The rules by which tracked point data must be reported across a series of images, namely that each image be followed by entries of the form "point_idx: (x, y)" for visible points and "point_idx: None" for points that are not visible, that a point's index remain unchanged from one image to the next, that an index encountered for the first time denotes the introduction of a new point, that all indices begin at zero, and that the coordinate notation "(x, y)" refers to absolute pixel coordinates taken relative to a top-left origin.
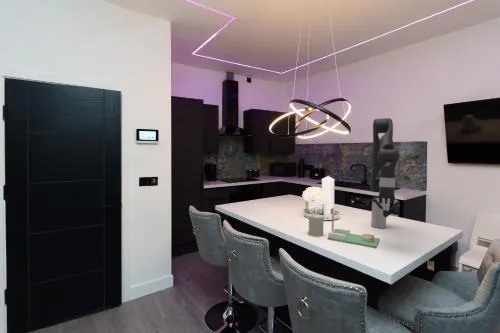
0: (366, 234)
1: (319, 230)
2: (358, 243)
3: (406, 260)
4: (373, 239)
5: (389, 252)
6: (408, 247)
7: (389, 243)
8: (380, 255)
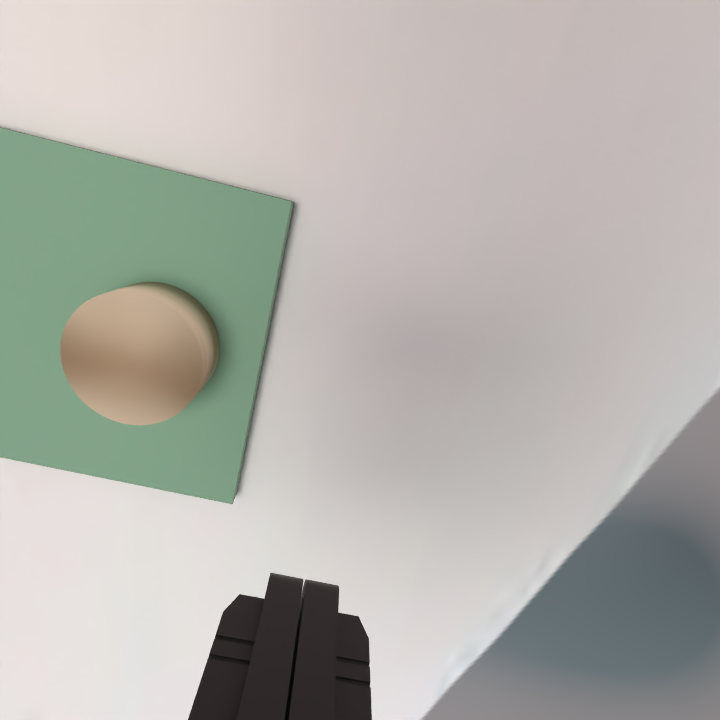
0: (106, 328)
1: None
2: (67, 469)
3: (437, 669)
4: (205, 382)
5: (342, 555)
6: (555, 364)
7: (389, 297)
8: None
